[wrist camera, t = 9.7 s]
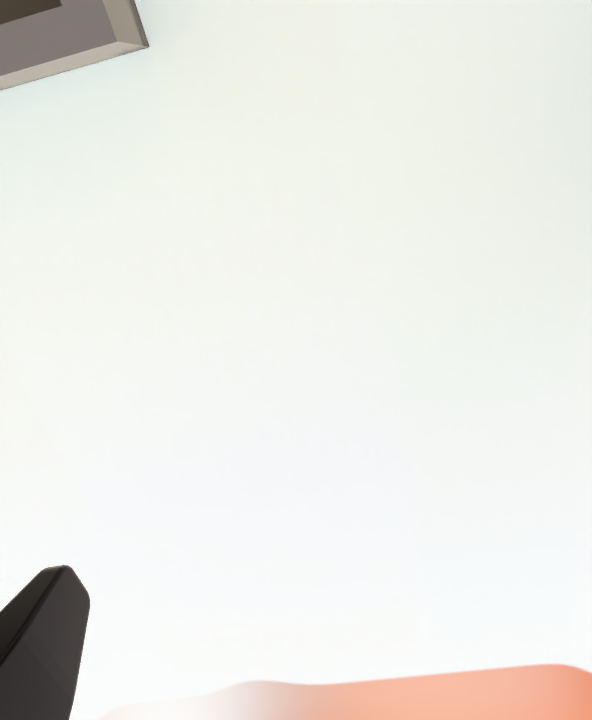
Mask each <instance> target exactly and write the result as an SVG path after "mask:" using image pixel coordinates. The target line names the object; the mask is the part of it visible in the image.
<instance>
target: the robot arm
mask: <svg viewBox="0 0 592 720" xmlns="http://www.w3.org/2000/svg"><path fill="white" fill-rule="evenodd" d="M89 609H90V599H89V595H88V592H87V590H86V589H85V587H84V586H83V584H82V583H81V581H80V580H79V578H78V577H77V575H76V574H75V572H74V570H73V569H72V568H71V567H70V566H68V565H61V566H55V567H49V568H45V569H43V570H42V571H41V572H40V573H38V574H37V575H36V576H35V577H34V578H33V579H32V580H31V581H30V582H29V583H28V584H27V585H26V586H25V587H24V588H23V589H22V590H21V591H20V592H19V593H18V594H17V595H16V596H15V597H14V598H13V599H12V600H11V601H10V602H9V603H8V604H7V605H6V606H5V607H4V608H3V609H2V611H1V612H0V720H69V717H70V713H71V709H72V705H73V700H74V695H75V690H76V685H77V679H78V674H79V668H80V662H81V656H82V650H83V644H84V638H85V633H86V627H87V621H88V615H89Z"/></svg>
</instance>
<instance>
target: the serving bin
mask: <svg viewBox="0 0 592 720" xmlns="http://www.w3.org/2000/svg"><path fill="white" fill-rule="evenodd" d="M148 47H149V44H148V41H147V38H146V35H145V32H144V29H143V26H142V23H141V20H140V17H139V14H138V11H137V8H136V5H135V2H134V0H0V90H4V89H7V88H11V87H14V86H18V85H21V84H24V83H28V82H31V81H35V80H38V79H42V78H45V77H48V76H52V75H55V74H59V73H62V72H66V71H69V70H72V69H76V68H79V67H83V66H86V65H90V64H93V63H96V62H100V61H103V60H107V59H110V58H114V57H117V56H120V55H124V54H127V53H131V52H134V51H138V50H141V49H144V48H148Z"/></svg>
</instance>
